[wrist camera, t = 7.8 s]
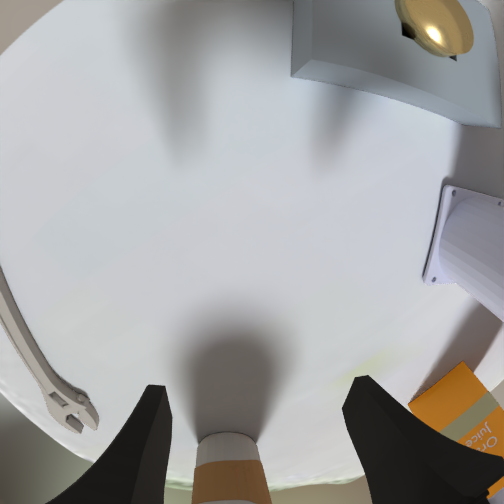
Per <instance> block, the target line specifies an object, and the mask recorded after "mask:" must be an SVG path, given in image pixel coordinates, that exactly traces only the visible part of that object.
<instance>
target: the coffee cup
mask: <svg viewBox="0 0 504 504" xmlns="http://www.w3.org/2000/svg"><path fill="white" fill-rule="evenodd" d="M192 504H272V502H271V498H270V494H269V490H268V486H267V482H266V478H265V474H264V470H263V465H262V463H261V460H260V456H259V452H258V447H257V445H256V443H254V442H253V440H252V439H251V438H250V437H248V436H246V435H244V434H240V433H232V432H223V433H216V434H212V435H209V436H207V437H205V438H204V439H203V440H202V441H201V443H200V444H199V445H198V448H197V458H196V468H195V471H194V482H193V493H192Z"/></svg>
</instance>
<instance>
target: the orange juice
mask: <svg viewBox="0 0 504 504" xmlns="http://www.w3.org/2000/svg"><path fill="white" fill-rule="evenodd" d="M408 406H409V408H410V410H411V411H412V413H413V415H414V416H416V417H417V418H418V419H420V420H421V421H422V422H424V423H425V424H427V425H428V426H430V427H431V428H433V429H434V430H436V431H438V432H439V433H441V434H442V435H444V436H446V437H448V438H450V439H452V440H454V441H456V442H458V443H460V444H462V445H465V446H467V447H470V448H472V449H475V450H478V451H481V452H485V453H489V454H493V455H498V456H502V457H503V459H504V411H503V409H502V408H501V407H500V405H499V403H498V402H497V401H496V400H495V398H494V397H493V396H492V394H491V393H490V392H489V391H488V390H487V389H486V388H485V387H484V385H483V384H482V383H481V382H480V381H479V379H478V378H477V377H476V376H475V375H474V373H473V372H472V371H471V370H470V369H469V368H468V366H467V365H466V364H465V363H464V362H463V361H462V362H461V363H459V364H458V365H457V366H456V367H455V368H454V369H453V370H451V371H450V372H449V373H448V374H447V375H446V376H444V377H443V378H442V379H441V380H439V381H438V382H437V383H436V384H434V385H433V386H432V387H431V388H429V389H428V390H427V391H425V392H424V393H423V394H421V395H420V396H419V397H417V398H416V399H415V400H413V401H412V402H410V403H409V404H408ZM503 487H504V476H503V477H502V478H501V479H500V480H499V481H497V482H496V483H495V484H494V485H492V486H491V487H490V488H489V489H488V491H489V493H490V494H489V495H488V496H487V499H489V498H490V497H492V496H493V495H494V494H495V493H497V492H498V491H499V490H501V489H502V488H503Z"/></svg>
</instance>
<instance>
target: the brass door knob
mask: <svg viewBox="0 0 504 504" xmlns="http://www.w3.org/2000/svg"><path fill="white" fill-rule="evenodd" d="M395 9H396V12H397V15H398V17H399V20H400V22H401V29H402V36H405V37H407V38H410V39H412V40H414V41H415V42H416V43H417V44H418V45H419V46H420V47H422V48H423V49H424V50H426V51H427V52H429V53H431V54H433V55H435V56H438V57H450V56H455V55H459V54H465V53H467V52H469V51H470V50H471V48H472V46H473V43H474V34H473V29H472V25H471V22H470V20H469V18H468V15H467V14H466V12H465V10H464V9H463V7H462V6H461V4H460V3H459V2H458V0H395Z"/></svg>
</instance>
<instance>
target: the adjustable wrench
mask: <svg viewBox="0 0 504 504" xmlns="http://www.w3.org/2000/svg"><path fill="white" fill-rule="evenodd" d="M0 323H1V325H2V327H3V329H4V331H5V332H6V334H7V336H8V338H9V339H10V341H11V343H12V345H13V346H14V348H15V350H16V351H17V353H18V354H19V356H20V358H21V359H22V361H23V362H24V364H25V365H26V367H27V368H28V370H29V371H30V373H31V374H32V376H33V377H34V378H35V380H36V382H37V383H38V385H39V387H40V389H41V391H42V394H43V396H44V399H45V402H46V405H47V408H48V411H49V413H50V414H51V416H52V417H53V418H54V419H55V420H56V421H57V422H58V423H59V424H61V425H62V426H64V427H65V428H67V429H69V430H70V431H73V432H75V433H78V434H81V432H82V429H83V427H84V426H83V425H82V424H81V423H79V422H78V421H77V420H75V419H74V418H73V417H71V416H70V414H72V413H77V414H79V416H78V419H80V420H81V421H82V422H84V423H85V424H86V425H88V426H89V427H90V428H92V429H93V430H97V427H98V424H99V416H98V413H97V412H96V410H95V409H94V407H93V406H92V405H91V404H90V402H89V401H90V399H89V398H87V397H84V395H82V394H78V393H76V392H75V391H73V390H72V389H71V388H69V387H68V386H66V385H65V384H64V383H63V382H62V381H61V380H60V379H59V378H58V377H57V376H56V375H55V373H54V372H53V371H52V369H51V367H50V366H49V364H48V363H47V361H46V359H45V358H44V356H43V355H42V353H41V351H40V349H39V348H38V346H37V344H36V343H35V341H34V339H33V337H32V335H31V334H30V332H29V330H28V328H27V326H26V324H25V322H24V320H23V318H22V316H21V314H20V312H19V310H18V308H17V306H16V304H15V301H14V299H13V297H12V295H11V292H10V290H9V288H8V285H7V283H6V281H5V278H4V276H3V273H2V270H1V268H0Z"/></svg>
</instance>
